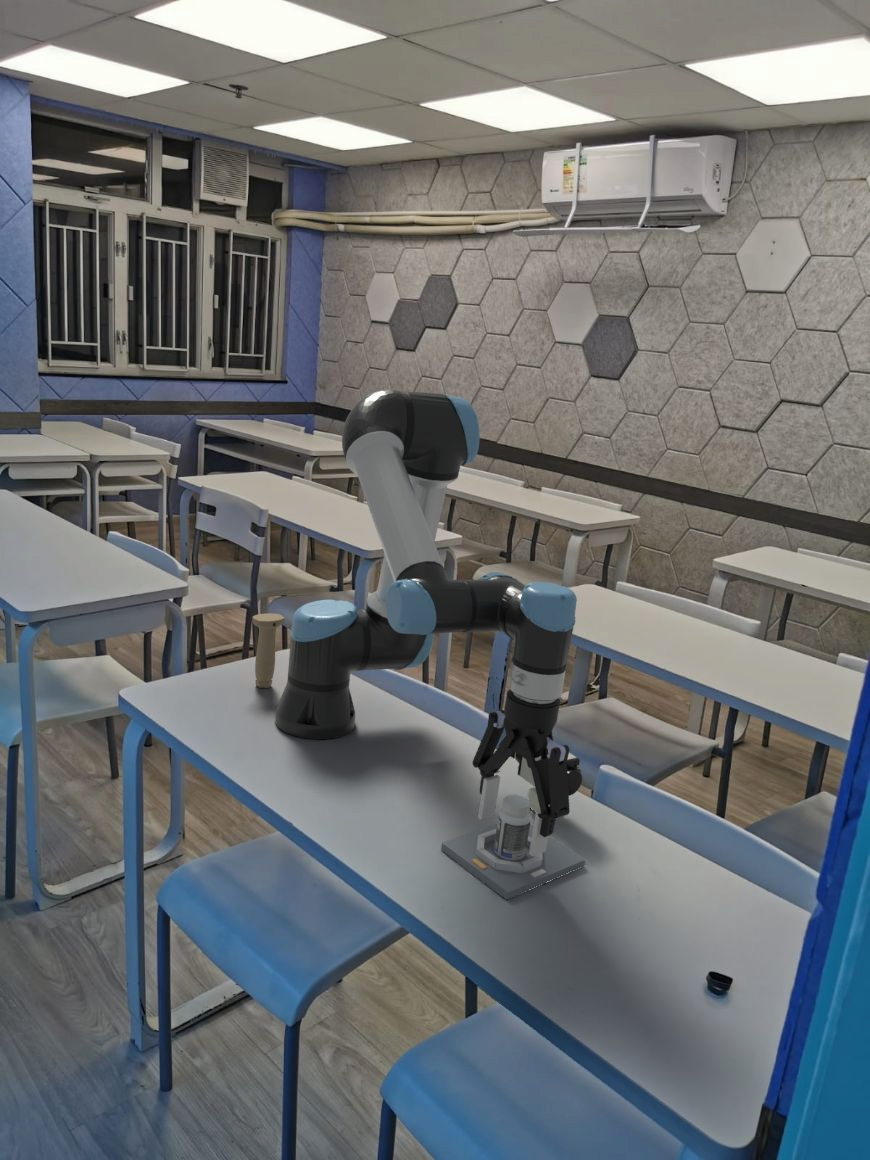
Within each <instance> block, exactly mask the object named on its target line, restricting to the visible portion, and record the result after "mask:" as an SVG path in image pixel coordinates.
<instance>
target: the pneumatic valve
mask: <svg viewBox="0 0 870 1160" xmlns="http://www.w3.org/2000/svg"><path fill="white" fill-rule="evenodd" d="M548 752H549V750H548ZM540 759H541V756H540V757H538V758H535V761H536V760H540ZM515 760H516V762H517V763H518V766H517V775H518V776H519V777H521V778H522V779H523V780H525V781H526V782H528V783H529V784H531V785H532V787H530V788H529V790H528V792H527V799H528V800H529V801H530V808H532V809H533V810H534V811H536V812H540V811H541V810H540V806H539V801H538V797H537V793H536V788H535V784H534V780H533V775H532V771H531V768H529V767H528V765H527V761H526V759H525V758H523V757H522V756H521V755H520V754H518V753H515ZM580 761H581V759H580V758H578V757H577V756H575V755H574V754H572V753H571V752H569V755H568V759H567V775H568V792H569V797H570V796H572V795H574V794H576V793H577V791H578V790H579V789H580V787H581V785H582V781H583V775H582V772H581V769H580ZM549 806H550V804H549ZM532 809H531V810H532ZM533 810H532V811H533ZM534 811H533V812H534ZM536 812H535V813H536Z"/></svg>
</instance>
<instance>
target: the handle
mask: <svg viewBox="0 0 870 1160" xmlns="http://www.w3.org/2000/svg"><path fill="white" fill-rule="evenodd" d="M284 622H285V616H283V615H282V614H280V613H271V612H269V613H259V614H255V615H253V616H252V624H253V625H254V626H255V627H258V639H257V648H256V654H255V665H254V666H255V667H254V671H255V686H256V687H258V688H259V689H268V688H270V687H271V686H272V685H273V678H274V673H275V667H276V636H277V635H276V634H277V633H276V632H277V628H279V627H280V626H282V625H283V624H284Z"/></svg>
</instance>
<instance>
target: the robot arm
mask: <svg viewBox="0 0 870 1160" xmlns="http://www.w3.org/2000/svg"><path fill="white" fill-rule="evenodd" d="M479 425H480V424H479V421H478V416H477V414H476V411H475V409H474V407H473V406H472V405H471V403H470V402H469V401H468V400H467V399H465V398H463V397H460V396H454V395H449V394H446V393H430V392H420V391H419V392H418V391H406V390H397V389H381V390H377V391H375V392H371V393H369V394H367V395H365V396H364V397H363V398H361V399H360V400H358V402H357V403H356V404H355V405H354V406H353V408H352V409H351V411H350V412H349V414H348V416H347V418H346V419H345V422H344V425H343V429H342V436H341V448H342V452H343V456H344V459H345V462H346V465H347V467H348V468H349V470H350V471H351V472H352V473H353V474H355V475H357V477H358V480H359V481H358V482H359V483H360V486H361V490H362V493H363V495H364V498H365V502H366V503H367V506H368V509H369V513H370V515H371V518H372V522H373V524H374V527H375V530H376V533H377V536H378V539H379V541H380V544H381V547H382V549H383V553H384V554H383V560H382V564H381V565H382V566H381V568H380V573H379V574H380V575H379V579H378V580H379V581H378V585H377V590H375V591H373V592H372V593H370V594H369V595H368V597H367V600H366V605H365V609H357V607H356V605H355V604H353V603H352V602H350V601H347V600H342V599H340V600H336V599H320V600H315V601H311V602H307V603H305V604H302V605H301V606H299V608H297V610H296V611H295V612H294V614H293V616H292V622H291V623H292V624H291V628H290V631H289V637H290V643H289V655H288V656H289V657H288V670H287V671H288V672H287V682H286V686H285V687H284V688H283V689H284V690H283V692H282V694H281V696H280V699H279V701H278V704H277V705H276V708H275V714H274V715H275V717H274V723H275V725H276V726H277V727H278V728H279V730H281V731H282V732H285V733H287V734H289V735H291V736H294V737H298V738H303V739H311V740H312V739H313V740H328V739H335V738H340V737H343V736H346V735H347V734H350V732H352V731H353V730H354V728H355V725H356V711H355V707H354V702H353V697H352V694H351V689H350V681H351V673H352V672H362V671H363V672H364V671H379V670H398V671H401V670H405V669H409V668H416V667H419V666H421V665H422V664H423V663H424V662H425V661H426V660H427V658H428V656H429V655H430V653H431V650H432V649H433V644H434V636H435V634H448V633H449V634H450V633H480V632H481V633H482V632H483V633H486V632H489V633H490V632H500V633H503V635H506V636H507V637H508V638H510V639H512V640H513V641H514V645H513V650H512V651H513V652H512V658H511V667H510V673H509V680H508V690H507V691H506V696H505V703H504V709H501V710H500V709H499V710H497V711H493V712H489V714H488V718H487V719H488V720H487V727H486V729H485V731H484V734H483V735H482V738H481V741H480V742H479V746H478V748H477V749H476V753H475V755H474V757H473V760H472V766H473V768H478V770H479V775H480V784H479V794H480V795H481V797H480V802H479V808H478V809H479V810H478V814H477V815H478V816H477V818H478V819H479V820H480V821H482V820H486V819H488V818H492V817H494V816H495V814H496V809H497V802H498V801H497V800H498V796H499V795H498V794H499V788H500V783H501V776H499V775H498V773H500V772H501V771H500V769H501V768H503V767H502V766H503V765H505V763H506V761H508V759H509V758H510V757H511V756H512V755H513V754H514V753H515V754H516V753H518V754H520V755H521V756H522V757H523V758H525V759H526V761H527V765H528V767H529V768H531V771H532V775H533V780H534V784H535V788H536V793H537V797H538V801H539V806H540V810H541V811H540V812H537V813H536V812H535V817H534V821H533V822H534V823H533V826H534V827H533V833H532V838H531V844H530V850H529V854H530V855H531V856H535V855H538V854H540V853H543V852H545V851H546V847H547V842H548V836H550V837H551V836H552V834H553V833H554V828H555V822H556V820H557V819H560V818H562V817H565V816H568V815H569V814H570V810H571V809H570V796H569V792H568V775H567V759H568V755H569V753H570V747H569V746H568V745H567V744H562V745H560V744H558V742H555V741H554V736H553V730H554V727H555V726H556V724H557V721H558V717H559V711H560V706H561V705H560V704H561V700H560V698H561V697H562V696H563V689H564V684H565V678H566V677H565V676H566V672H567V671H566V667H567V664H568V660H569V659H568V658H569V653H570V649H571V643H572V636H573V632H574V626H575V624H576V610H577V608H576V607H577V601H578V600H577V599H578V597H577V595H576V593H575V592H574V591H573V590H572V589H571V588H569V587H567V586H563V585H559V584H557V583H554V582H549V581H548V582H546V581H534V582H530V583H527V584H524V583H522V582H521V581H519V580H518V579H517V578H514V577H513V576H511V575H508V574H504V573H502V572H498V571H497V572H496V571H495V572H489V573H486V574H485V575H483V576H481V577H479V578H478V579H449V576H448V574H447V572H446V569H445V566H444V564H443V562H442V558H441V557H440V554H439V551H438V549H437V546H436V544H435V543H436V541H435V540H436V538H437V532H438V528H439V524H440V519H441V514H442V509H443V506H444V501H445V497H446V492H447V488H448V485H449V484H451V483H453V482H455V481H457V479H458V477H459V472H460V469H461V466H467V465H469V464H471V463H473V462H474V460H475V459H476V457H477V456H478V452H479V447H480V437H481V436H480V426H479ZM504 731H505V736H504V738H502V737H501V736H502V735H503V733H504ZM501 738H502V740H501V741H500V739H501ZM499 742H500V743H499ZM497 746H498V747H497ZM548 750H549V752H548ZM540 756H541V759H540V760H536V761H535V758H538V757H540ZM549 804H550V806H549Z"/></svg>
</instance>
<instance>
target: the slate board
mask: <svg viewBox="0 0 870 1160" xmlns="http://www.w3.org/2000/svg"><path fill="white" fill-rule="evenodd" d="M533 827H534V824H531V823H530V828H529V835H528V841H527V848H526V854H525V856H524V857H523V858H522V859H520V860H516V861H510V860H505V859H503V858H501V857H499V856H498V855H497V854H496V853H495V852H494V843H495V837H496V829H497V823H494V824H492V825H490V826H486V827H484V828H481V829H477V830H475V831H471V832H469V833H466V834H464V835H463V834H462V835H460V836H458V837H455V838H451V839H450V840H449V839H448V840H446V841H443V842H442V843H441V847H440V850H441V851H442V852H443V853H444V852H445V853H444V854H446V855H447V854H448V855H449V856H448V855H447V856H448V857H450V858H451V857H452V858H453V859H452V858H451V859H452V860H454V859H455V860H456V861H457V862H456V861H455V860H454V861H455V862H456V863H458V864H459V865H460V864H461V865H462V868H464V869H466V870H467V871H468V872H470V873H471V874H472V875H473V876H475V878H477V879H479V880H480V881H481V880H482V881H483V882H482V881H481V882H482V883H484V884H487V885H486V886H488V887H489V888H490V889H492V890H493V891H494V890H495V891H494V892H496V894H498V895H500V896H501V897H502V896H503V897H504V899H505V898H506V899H508V900H511V899H513V898H515V897H518V896H519V895H518V894H520V895H522V894H524V893H523V892H525V891H527V892H529V891H530V890H529V889H532V888H534V887H536V886H539V885H541V884H543V883H546V882H547V881H550V880H552V879H554V878H557V877H559V876H561V875H564V874H566V873H568V872H570V871H573V870H576V869H578V868H580V867H583V866H584V867H585V864H586V859H585V858H584V857H582V856H580V855H579V854H577V853H576V852H574V851H573V850H571V849H570V848H568V847H566V845H564V844H562V843H561V842H559V841H557V840H556V839H555V838H553V837H552V836H551V835H550V836H548V842H547V847H546V851H545V852H543V853H540V854H538V855H535V856H531V855H530V854H529V850H530V844H531V838H532V833H533ZM461 865H460V866H461ZM584 867H583V868H584ZM580 869H581V868H580ZM578 870H579V869H578ZM576 871H577V870H576ZM573 872H574V871H573ZM566 875H567V874H566ZM564 876H565V875H564ZM559 878H560V877H559ZM557 879H558V878H557ZM552 881H553V880H552ZM550 882H551V881H550ZM546 884H547V883H546ZM543 885H544V884H543ZM541 886H542V885H541ZM539 887H540V886H539ZM536 888H537V887H536ZM534 889H535V888H534ZM528 890H529V891H528ZM532 890H533V889H532ZM521 893H522V894H521ZM525 893H526V892H525ZM517 895H518V896H517ZM503 897H502V898H503ZM512 897H513V898H512ZM510 898H511V899H510ZM506 899H505V900H506Z"/></svg>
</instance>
